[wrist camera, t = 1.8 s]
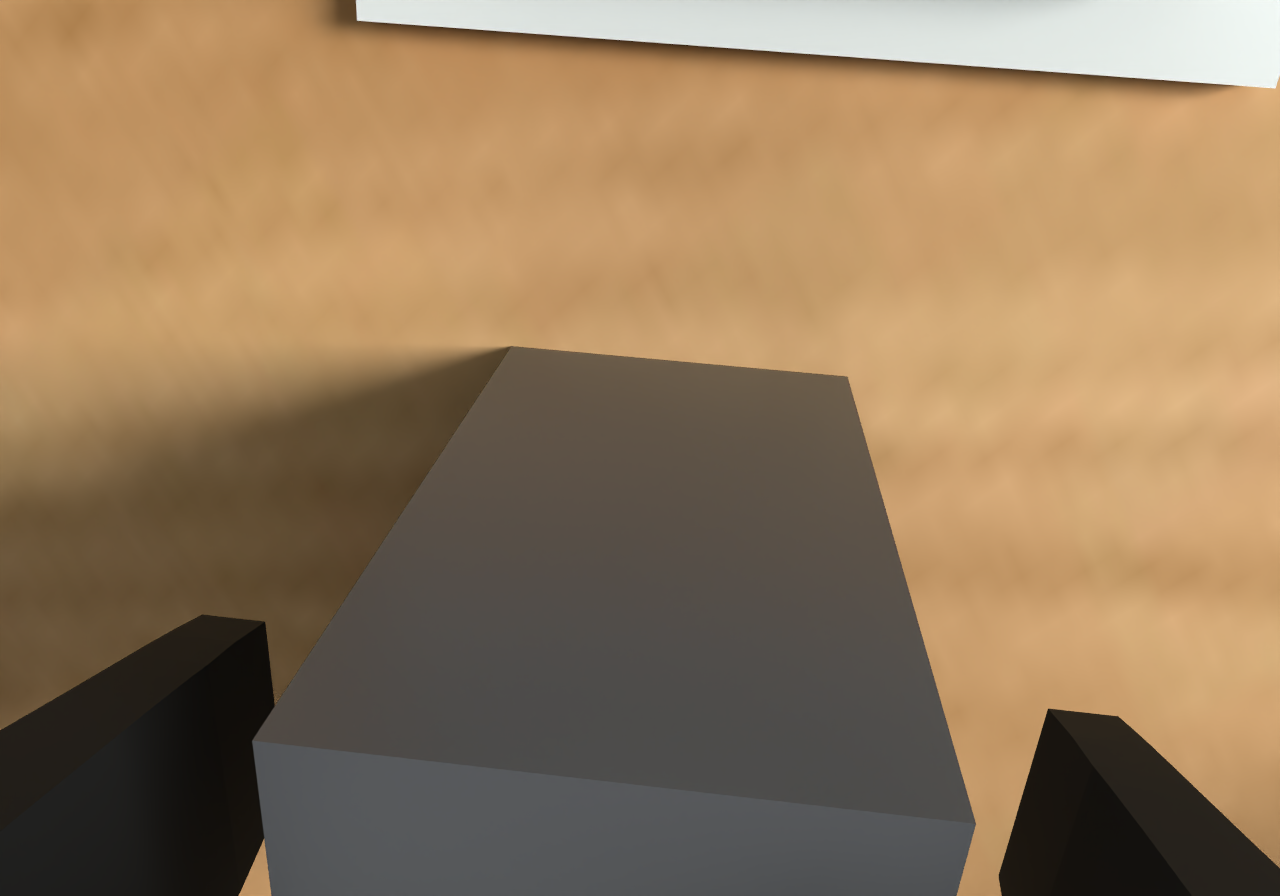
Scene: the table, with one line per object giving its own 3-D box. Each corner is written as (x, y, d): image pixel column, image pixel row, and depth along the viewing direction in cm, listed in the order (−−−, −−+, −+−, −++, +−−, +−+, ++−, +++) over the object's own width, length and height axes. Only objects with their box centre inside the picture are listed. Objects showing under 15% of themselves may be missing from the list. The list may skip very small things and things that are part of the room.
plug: (507, 683, 14) (317, 1251, 8) (511, 346, 12) (252, 739, 6) (793, 715, 14) (839, 1326, 7) (847, 376, 12) (975, 824, 5)
